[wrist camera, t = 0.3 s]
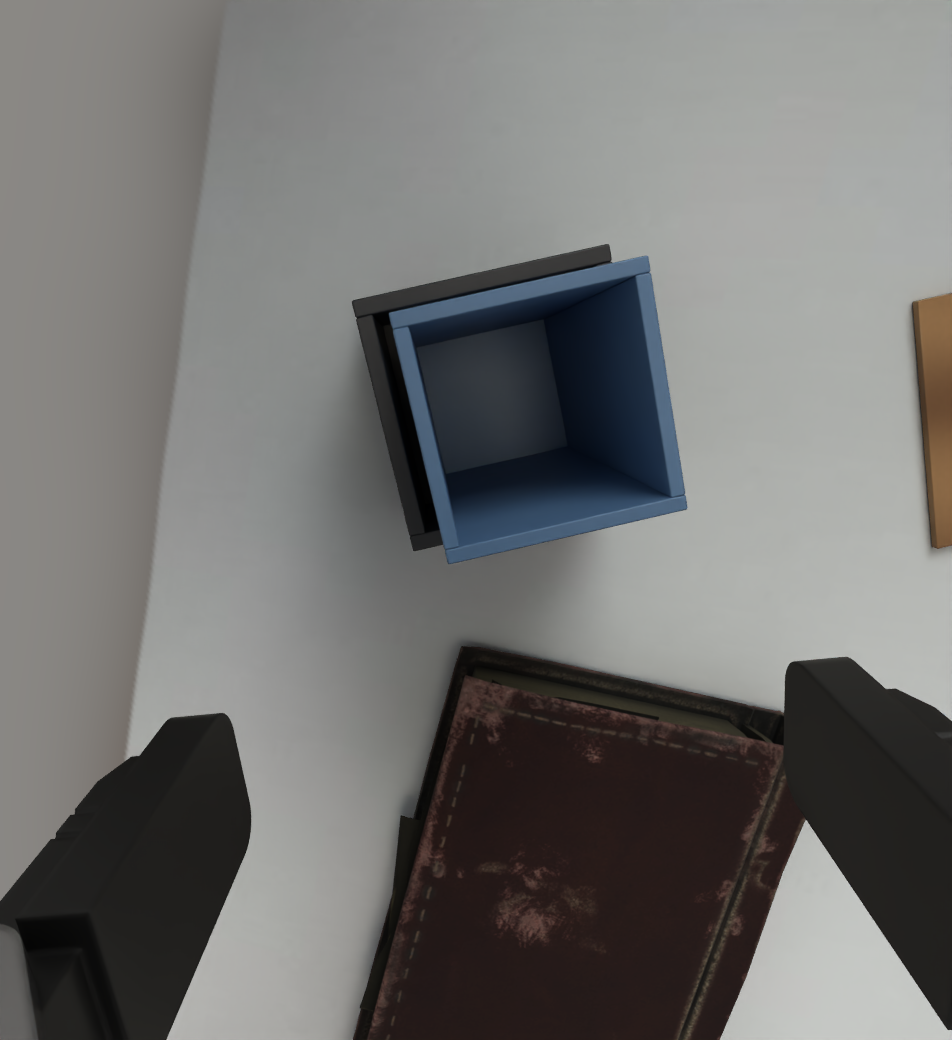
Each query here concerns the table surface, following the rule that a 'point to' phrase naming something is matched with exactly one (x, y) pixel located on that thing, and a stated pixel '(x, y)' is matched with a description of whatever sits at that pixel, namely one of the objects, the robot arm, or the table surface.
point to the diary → (581, 860)
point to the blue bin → (542, 408)
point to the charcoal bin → (391, 379)
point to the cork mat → (936, 408)
